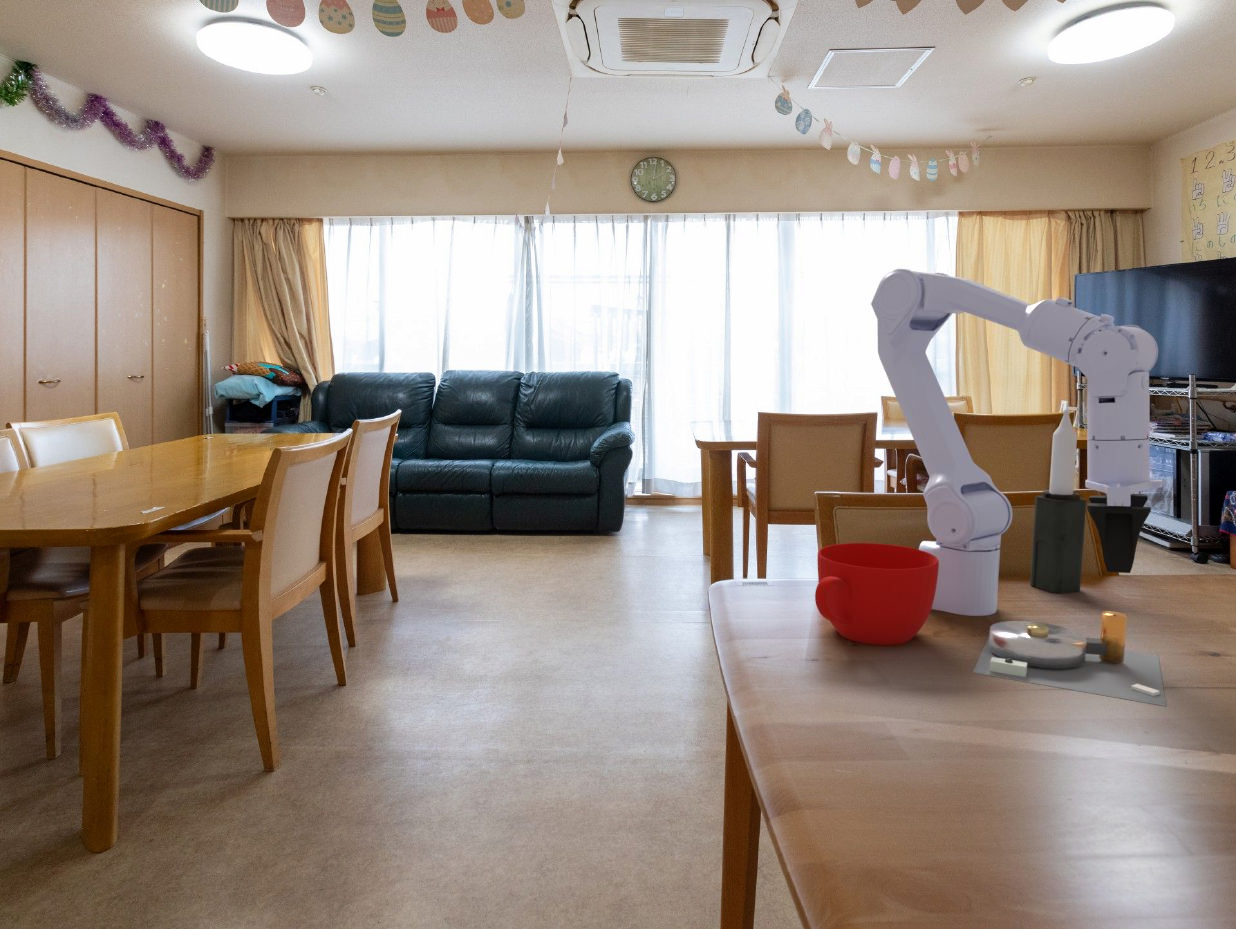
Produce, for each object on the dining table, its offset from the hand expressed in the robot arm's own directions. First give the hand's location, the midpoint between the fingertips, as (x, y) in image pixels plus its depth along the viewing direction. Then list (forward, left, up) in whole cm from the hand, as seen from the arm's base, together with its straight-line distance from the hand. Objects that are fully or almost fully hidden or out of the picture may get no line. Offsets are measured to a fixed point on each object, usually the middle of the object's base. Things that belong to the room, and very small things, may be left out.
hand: (1118, 565), depth 90 cm
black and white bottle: (-7, +26, -10) cm, 29 cm away
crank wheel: (-5, -8, -8) cm, 13 cm away
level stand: (-4, -10, -10) cm, 14 cm away
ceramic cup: (-24, -12, -10) cm, 28 cm away
